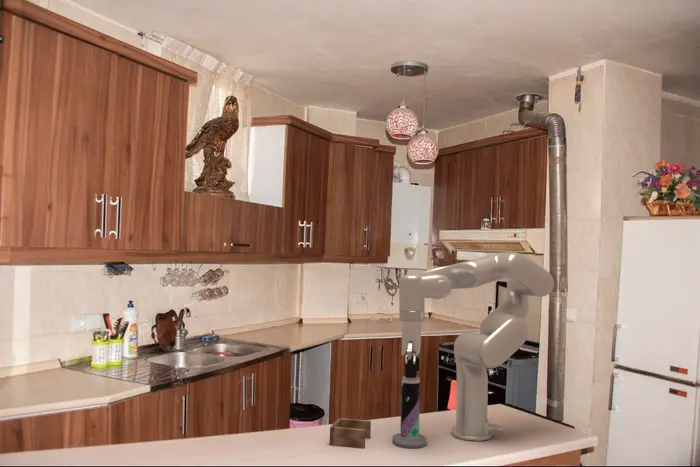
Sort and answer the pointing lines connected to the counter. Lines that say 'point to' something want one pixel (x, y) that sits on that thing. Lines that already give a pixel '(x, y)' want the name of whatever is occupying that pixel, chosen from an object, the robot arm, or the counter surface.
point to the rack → (350, 432)
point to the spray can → (410, 408)
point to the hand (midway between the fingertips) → (412, 374)
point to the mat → (409, 442)
